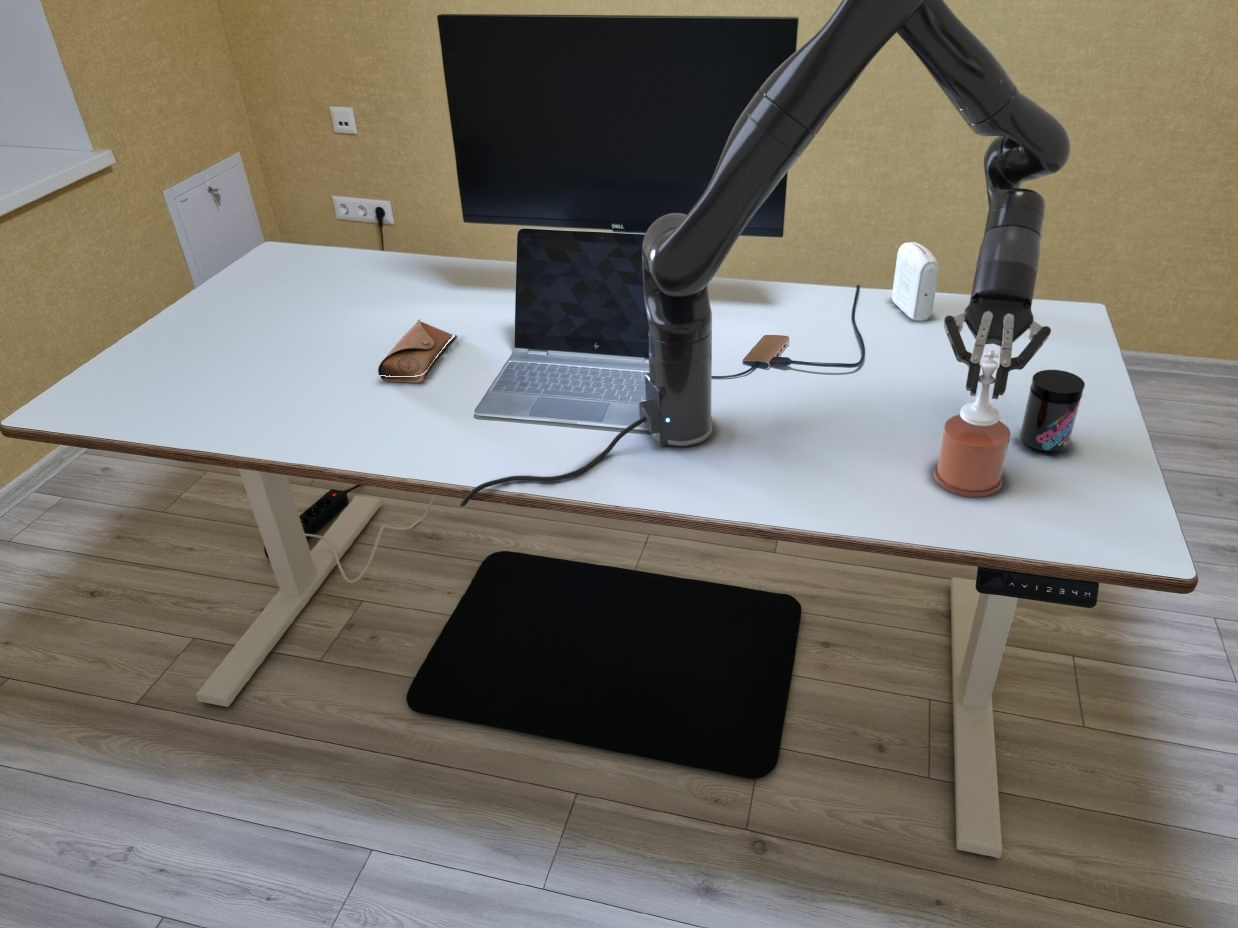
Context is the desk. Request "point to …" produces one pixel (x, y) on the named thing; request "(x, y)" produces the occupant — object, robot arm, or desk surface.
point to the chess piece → (983, 396)
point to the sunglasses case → (414, 354)
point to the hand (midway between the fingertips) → (984, 395)
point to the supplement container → (1051, 411)
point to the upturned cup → (972, 457)
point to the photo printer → (915, 281)
